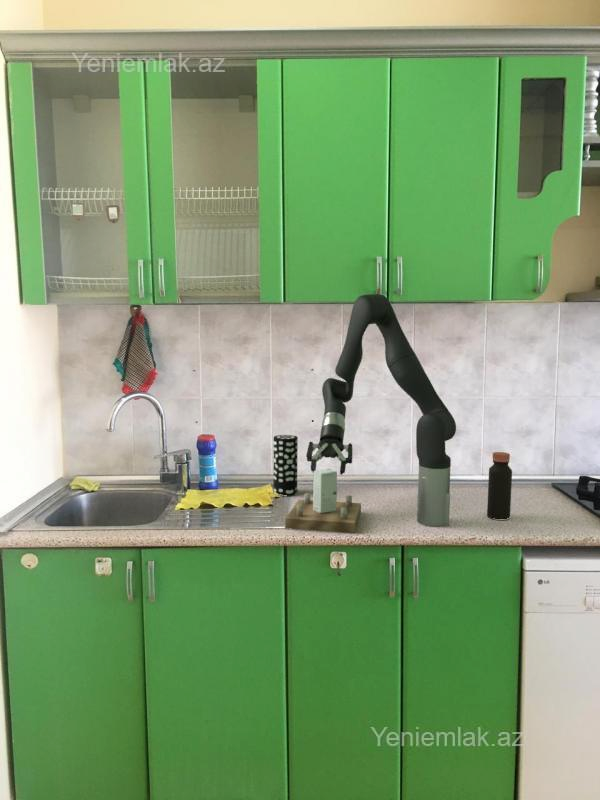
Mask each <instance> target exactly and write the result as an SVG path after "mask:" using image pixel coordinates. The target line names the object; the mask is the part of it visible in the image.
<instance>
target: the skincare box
mask: <svg viewBox="0 0 600 800" xmlns="http://www.w3.org/2000/svg"><path fill="white" fill-rule="evenodd" d="M312 488H313V490H312V492H313V493H312V494H313V496H312V500H313V510H314V511H316V512H318V513H325V512H331V511H336V504H337V502H338V500H337V496H338V495H337V492H338V489H337V488H338V472H337V471H336V470H333V469H331V468H327V469H319V470H318V469H317V470H316V471H314V473H313V487H312Z"/></svg>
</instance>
